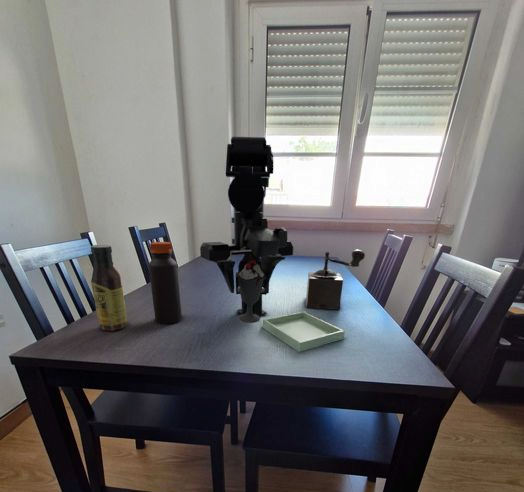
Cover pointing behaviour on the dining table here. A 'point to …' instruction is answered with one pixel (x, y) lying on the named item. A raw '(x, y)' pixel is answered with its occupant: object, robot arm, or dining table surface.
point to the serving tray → (303, 330)
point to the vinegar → (164, 284)
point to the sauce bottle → (107, 290)
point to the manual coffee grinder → (328, 284)
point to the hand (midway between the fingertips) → (248, 290)
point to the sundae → (250, 288)
